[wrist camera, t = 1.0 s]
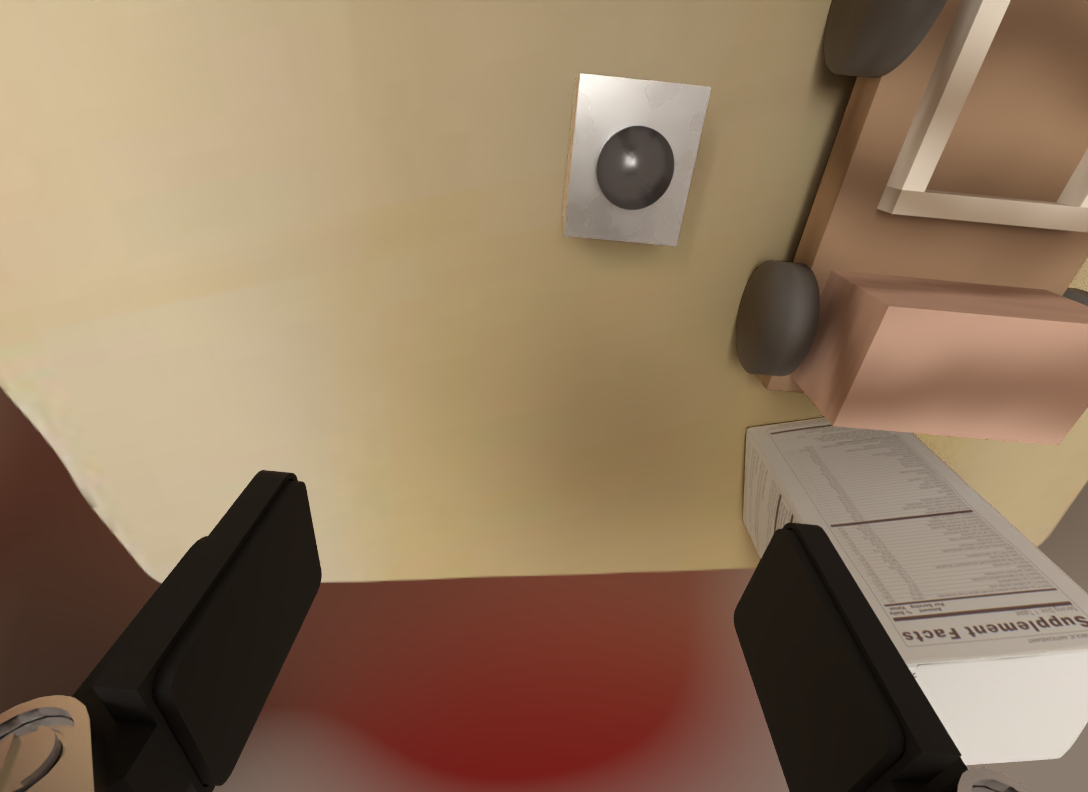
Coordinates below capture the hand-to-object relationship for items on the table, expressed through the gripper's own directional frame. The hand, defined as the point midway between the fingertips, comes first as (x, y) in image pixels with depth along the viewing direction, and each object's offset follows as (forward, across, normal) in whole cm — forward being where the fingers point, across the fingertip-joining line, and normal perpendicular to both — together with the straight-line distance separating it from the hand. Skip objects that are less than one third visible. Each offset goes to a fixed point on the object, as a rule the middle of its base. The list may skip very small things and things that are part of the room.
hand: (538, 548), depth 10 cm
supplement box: (+21, -20, +13) cm, 32 cm away
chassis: (+21, -19, -6) cm, 29 cm away
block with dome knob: (+21, -3, -6) cm, 22 cm away
